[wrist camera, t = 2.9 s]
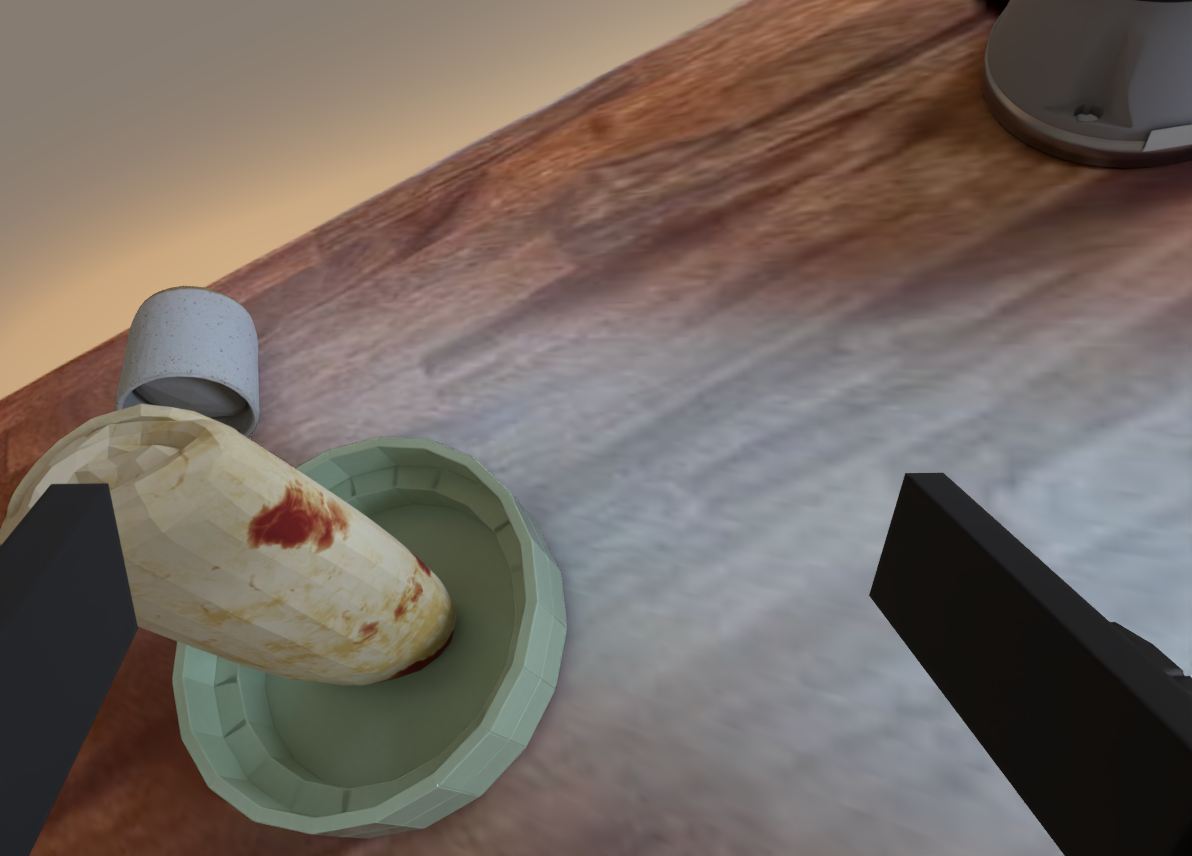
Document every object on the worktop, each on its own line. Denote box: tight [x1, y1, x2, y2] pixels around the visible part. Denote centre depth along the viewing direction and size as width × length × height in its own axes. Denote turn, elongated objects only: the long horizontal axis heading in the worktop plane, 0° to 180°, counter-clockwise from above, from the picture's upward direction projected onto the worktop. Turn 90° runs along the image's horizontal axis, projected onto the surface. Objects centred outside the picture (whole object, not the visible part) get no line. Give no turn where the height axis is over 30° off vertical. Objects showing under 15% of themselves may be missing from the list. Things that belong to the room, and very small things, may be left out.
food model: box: [0, 404, 457, 686], centre depth 33 cm, size 10×7×20 cm
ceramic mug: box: [115, 286, 259, 437], centre depth 50 cm, size 11×8×8 cm
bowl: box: [172, 437, 567, 839], centre depth 39 cm, size 18×18×5 cm
